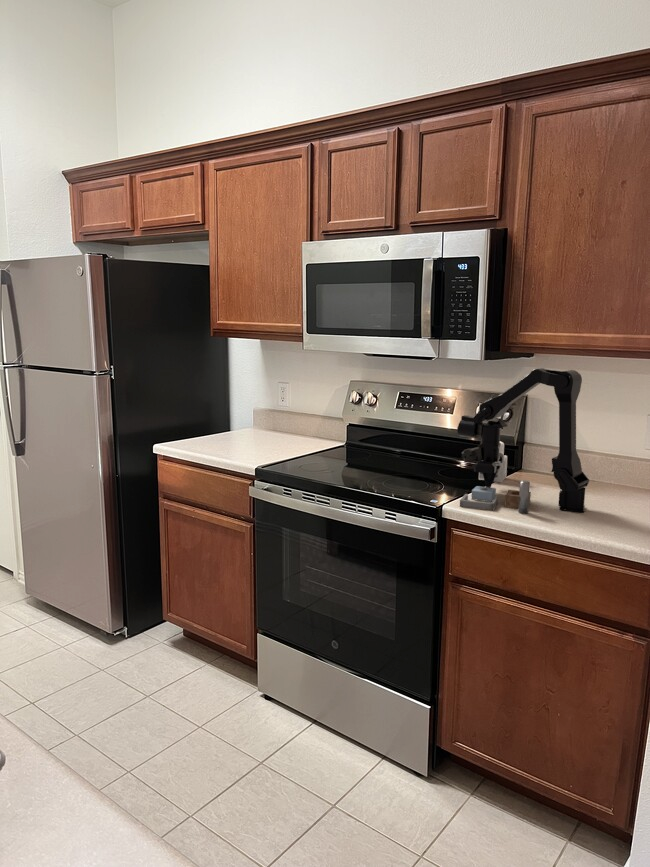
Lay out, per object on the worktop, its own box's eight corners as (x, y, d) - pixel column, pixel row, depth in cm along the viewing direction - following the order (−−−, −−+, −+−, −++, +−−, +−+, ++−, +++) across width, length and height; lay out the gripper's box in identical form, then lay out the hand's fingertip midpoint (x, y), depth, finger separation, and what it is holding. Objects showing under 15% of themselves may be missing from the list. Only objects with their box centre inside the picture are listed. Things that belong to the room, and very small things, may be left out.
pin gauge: (528, 511, 187) (530, 481, 186) (527, 514, 185) (529, 483, 183) (519, 510, 188) (520, 480, 187) (517, 513, 186) (519, 482, 184)
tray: (497, 503, 196) (497, 497, 195) (493, 510, 189) (493, 504, 188) (465, 499, 200) (465, 493, 199) (459, 506, 192) (459, 500, 192)
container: (478, 479, 223) (480, 442, 220) (484, 474, 229) (485, 438, 227) (501, 482, 219) (503, 444, 217) (506, 477, 226) (508, 440, 224)
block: (495, 497, 203) (496, 488, 202) (491, 502, 197) (491, 492, 197) (476, 495, 205) (476, 485, 205) (471, 500, 200) (471, 490, 199)
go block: (530, 503, 196) (530, 491, 195) (527, 509, 190) (528, 497, 189) (507, 500, 198) (508, 489, 197) (504, 506, 192) (505, 495, 192)
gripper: (470, 433, 216) (468, 479, 219) (458, 443, 200) (456, 493, 202) (505, 436, 212) (502, 483, 215) (495, 446, 195) (492, 497, 198)
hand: (488, 488), depth 208 cm, fingers closed
